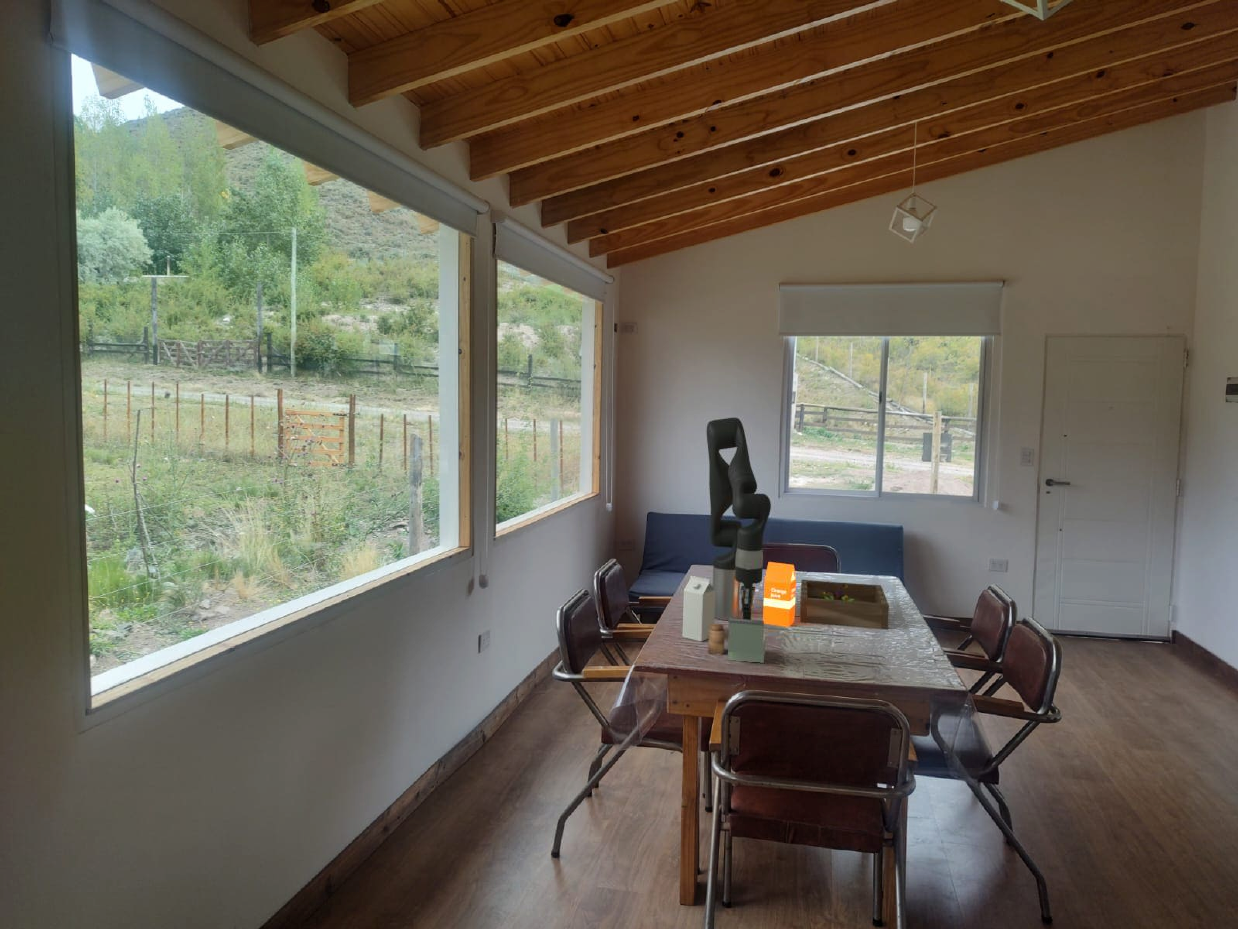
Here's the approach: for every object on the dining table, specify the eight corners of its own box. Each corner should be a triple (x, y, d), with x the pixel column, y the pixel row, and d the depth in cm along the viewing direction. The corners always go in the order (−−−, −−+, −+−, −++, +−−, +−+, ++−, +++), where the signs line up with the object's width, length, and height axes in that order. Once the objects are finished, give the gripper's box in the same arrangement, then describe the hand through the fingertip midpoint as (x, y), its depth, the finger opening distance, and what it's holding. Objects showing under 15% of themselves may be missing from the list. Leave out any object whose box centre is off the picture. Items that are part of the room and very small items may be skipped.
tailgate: (728, 649, 229) (729, 618, 225) (762, 652, 227) (763, 621, 223) (728, 651, 228) (728, 620, 224) (762, 655, 226) (763, 623, 222)
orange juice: (769, 617, 274) (771, 559, 272) (794, 621, 270) (797, 562, 269) (762, 623, 267) (764, 564, 265) (788, 627, 263) (791, 567, 262)
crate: (730, 649, 240) (731, 629, 239) (764, 652, 238) (765, 632, 237) (727, 660, 230) (728, 640, 229) (763, 663, 228) (764, 643, 227)
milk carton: (695, 632, 256) (696, 573, 254) (713, 637, 251) (716, 577, 250) (682, 637, 250) (684, 577, 249) (701, 642, 246) (703, 581, 244)
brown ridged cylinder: (709, 649, 239) (710, 622, 239) (724, 650, 238) (725, 623, 238) (707, 654, 235) (708, 627, 234) (723, 655, 234) (724, 628, 233)
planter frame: (800, 600, 296) (801, 579, 296) (879, 607, 290) (881, 585, 290) (800, 622, 269) (801, 598, 269) (887, 629, 263) (889, 605, 262)
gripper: (737, 557, 231) (735, 616, 233) (733, 569, 218) (731, 630, 221) (763, 559, 230) (761, 618, 232) (761, 571, 217) (758, 633, 219)
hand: (746, 624), depth 226 cm, fingers closed
